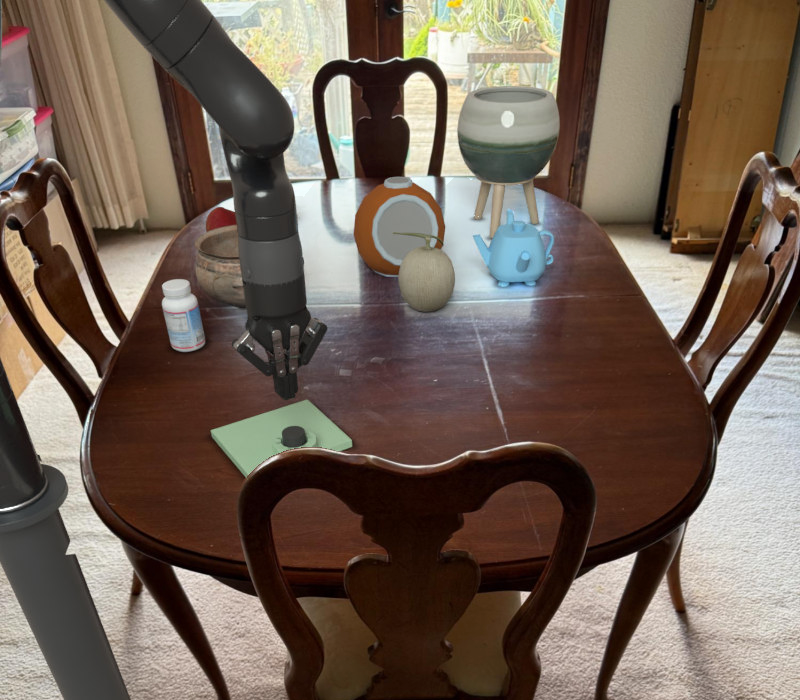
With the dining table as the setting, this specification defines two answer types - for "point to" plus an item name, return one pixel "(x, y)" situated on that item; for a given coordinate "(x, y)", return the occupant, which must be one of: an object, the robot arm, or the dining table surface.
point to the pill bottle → (182, 316)
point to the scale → (277, 434)
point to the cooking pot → (220, 265)
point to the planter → (507, 142)
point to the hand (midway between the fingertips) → (287, 396)
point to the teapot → (516, 252)
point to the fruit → (426, 276)
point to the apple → (220, 218)
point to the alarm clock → (396, 224)
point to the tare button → (293, 436)
